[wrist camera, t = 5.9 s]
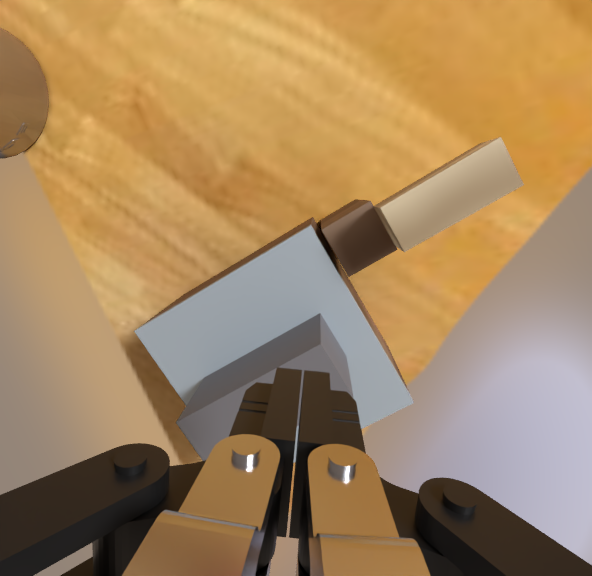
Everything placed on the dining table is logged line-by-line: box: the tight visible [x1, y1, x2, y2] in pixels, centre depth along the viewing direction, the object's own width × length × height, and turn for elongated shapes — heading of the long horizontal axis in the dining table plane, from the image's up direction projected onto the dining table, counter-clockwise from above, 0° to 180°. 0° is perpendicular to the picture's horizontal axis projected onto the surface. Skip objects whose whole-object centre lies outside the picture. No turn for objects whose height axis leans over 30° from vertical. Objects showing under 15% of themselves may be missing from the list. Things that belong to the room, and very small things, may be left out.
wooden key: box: [373, 137, 524, 252], centre depth 20 cm, size 2×6×2 cm, turn 121°
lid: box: [134, 224, 414, 463], centre depth 23 cm, size 12×12×7 cm
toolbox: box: [144, 199, 408, 390], centre depth 28 cm, size 12×15×9 cm
